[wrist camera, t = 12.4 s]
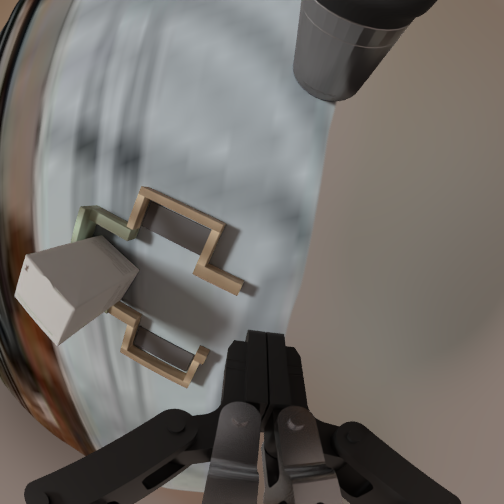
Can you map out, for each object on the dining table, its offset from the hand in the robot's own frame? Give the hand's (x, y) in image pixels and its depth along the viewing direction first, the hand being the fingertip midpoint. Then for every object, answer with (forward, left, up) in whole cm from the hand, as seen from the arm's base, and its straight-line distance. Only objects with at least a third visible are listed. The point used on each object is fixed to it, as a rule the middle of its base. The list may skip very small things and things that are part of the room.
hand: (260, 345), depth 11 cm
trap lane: (+11, -12, -23) cm, 28 cm away
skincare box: (+12, -19, -23) cm, 32 cm away
